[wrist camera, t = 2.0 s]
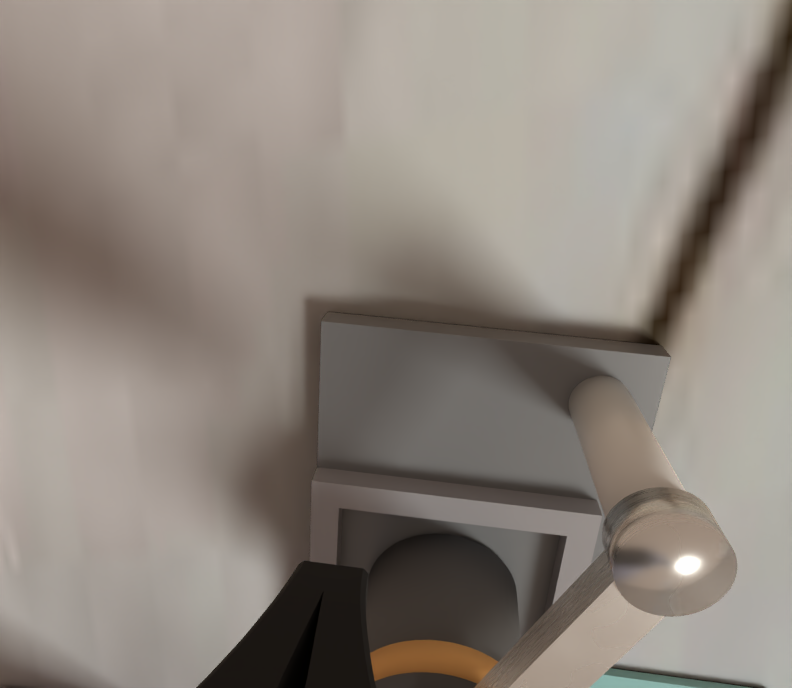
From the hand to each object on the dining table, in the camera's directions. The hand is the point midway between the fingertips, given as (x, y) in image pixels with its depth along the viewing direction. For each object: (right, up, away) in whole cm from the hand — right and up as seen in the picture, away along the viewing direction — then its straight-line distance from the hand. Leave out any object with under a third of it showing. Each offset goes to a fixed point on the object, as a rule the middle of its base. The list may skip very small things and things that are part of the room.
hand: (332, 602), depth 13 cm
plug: (+3, -2, +7) cm, 7 cm away
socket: (+3, -1, +7) cm, 8 cm away
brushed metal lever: (+4, -1, 0) cm, 4 cm away
